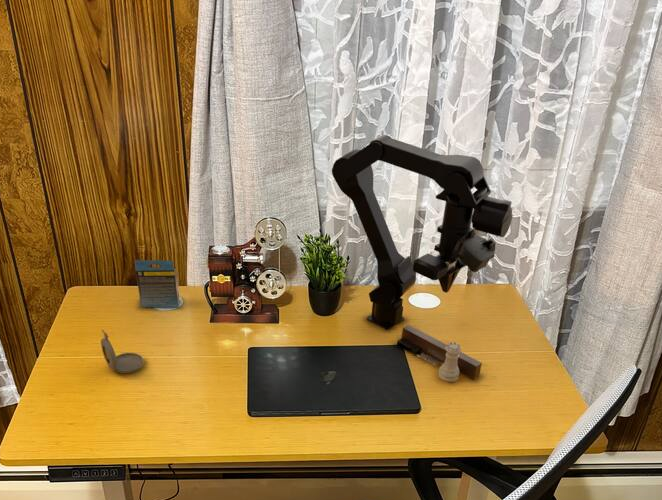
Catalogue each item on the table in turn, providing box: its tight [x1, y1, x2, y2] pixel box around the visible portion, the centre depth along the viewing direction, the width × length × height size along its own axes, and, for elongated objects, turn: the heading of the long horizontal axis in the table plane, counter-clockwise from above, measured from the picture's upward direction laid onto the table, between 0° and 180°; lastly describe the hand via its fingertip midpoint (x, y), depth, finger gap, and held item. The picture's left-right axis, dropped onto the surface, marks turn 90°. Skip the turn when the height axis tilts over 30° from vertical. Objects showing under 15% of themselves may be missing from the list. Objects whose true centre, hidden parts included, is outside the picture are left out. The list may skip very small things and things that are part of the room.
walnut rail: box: [400, 324, 483, 380], centre depth 163 cm, size 20×2×4 cm, turn 45°
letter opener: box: [396, 337, 441, 367], centre depth 165 cm, size 11×2×1 cm, turn 45°
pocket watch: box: [100, 328, 144, 374], centre depth 156 cm, size 8×8×10 cm
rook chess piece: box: [437, 341, 462, 383], centre depth 157 cm, size 4×4×8 cm
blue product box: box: [133, 259, 180, 309], centre depth 174 cm, size 9×4×12 cm, turn 93°
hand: (445, 291), depth 162 cm, fingers closed
